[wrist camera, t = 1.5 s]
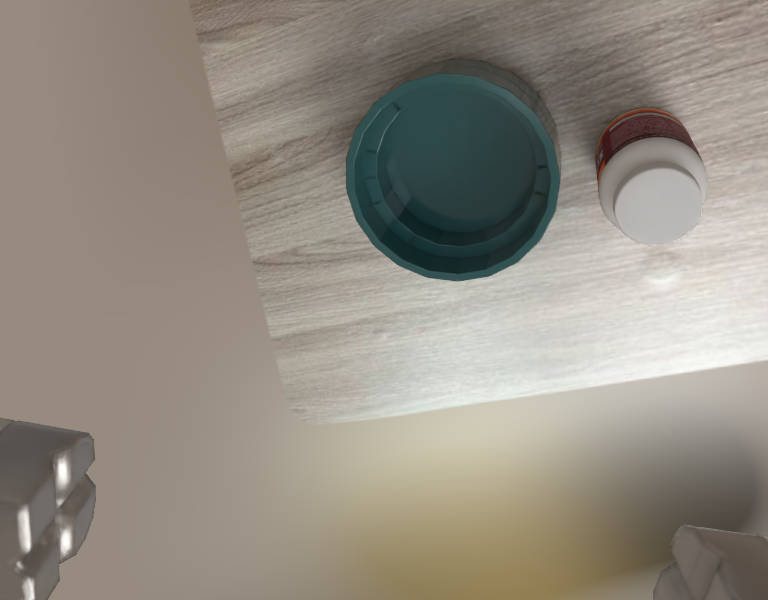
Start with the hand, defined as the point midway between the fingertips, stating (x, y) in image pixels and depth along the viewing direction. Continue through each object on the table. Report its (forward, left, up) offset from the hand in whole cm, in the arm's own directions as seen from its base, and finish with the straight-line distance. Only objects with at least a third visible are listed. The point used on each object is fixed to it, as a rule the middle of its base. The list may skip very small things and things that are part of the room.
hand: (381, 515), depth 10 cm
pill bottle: (-3, +10, -44) cm, 45 cm away
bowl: (+8, +4, -44) cm, 45 cm away
